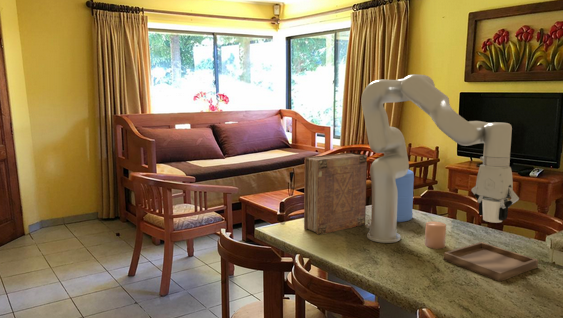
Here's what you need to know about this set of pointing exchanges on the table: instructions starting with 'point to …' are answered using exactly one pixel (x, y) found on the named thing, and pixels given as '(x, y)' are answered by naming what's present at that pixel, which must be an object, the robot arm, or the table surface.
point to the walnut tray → (491, 261)
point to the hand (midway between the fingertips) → (492, 216)
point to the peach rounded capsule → (435, 235)
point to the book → (334, 192)
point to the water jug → (405, 197)
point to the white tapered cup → (491, 209)
